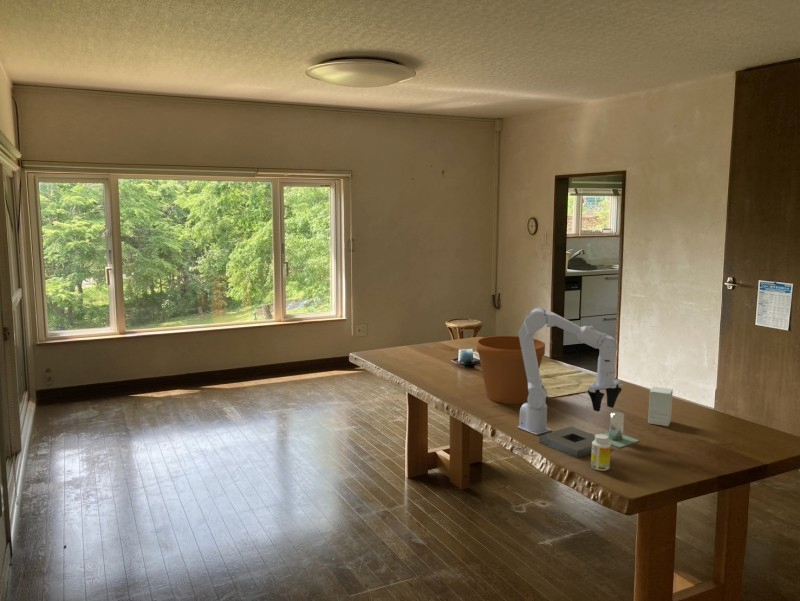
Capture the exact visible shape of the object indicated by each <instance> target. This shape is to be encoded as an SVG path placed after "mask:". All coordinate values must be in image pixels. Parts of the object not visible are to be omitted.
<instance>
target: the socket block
mask: <svg viewBox="0 0 800 601" xmlns="http://www.w3.org/2000/svg"><path fill="white" fill-rule="evenodd" d="M595 435H596V434H593V433H590V432H587V431H585V430H583V429H582V430H581V429H579V428H576V427H574V426H568V427H567V426H566V427H565V428H561V429H557V430H553V431H549V432H546V433H542V434H539V437H538V438H539V440H538V441H539V442H538V443H540V444H542V445H545V446H546V447H549V448H552V449H553V450H554V449H555V450H557V451H559V452H561V453H564V454H566V455H569V456H570V457H574V458H576V459H579V458H581V457H584V456H588V455H590V454H591V453H592V442H593V441H594V440H595ZM608 442H609V441H608Z"/></svg>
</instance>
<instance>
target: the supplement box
mask: <svg viewBox="0 0 800 601" xmlns="http://www.w3.org/2000/svg"><path fill="white" fill-rule="evenodd" d="M673 391H674V390H673V388H667V387H659V386H652V387H651V389H650V390H649V397H648V399H649V401H648V417H647V423H648V424H651V425H655V426H656V425H657V426H663V427H669V426H670V424H671V421H672V409H673V408H672V406H673V393H674V392H673Z"/></svg>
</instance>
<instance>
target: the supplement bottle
mask: <svg viewBox="0 0 800 601" xmlns="http://www.w3.org/2000/svg"><path fill="white" fill-rule="evenodd" d="M594 435H595V440H594V441H593V442H592V453H590V454H591V455H590V456H591V457H590V466H591V468H592V469H593V470H596V471H599V472H600V471H601V472H602V471H603V472H605V471H607V470H610V467H611V466H610V465H611V453H612V452H611V449H612V448H611V447H612V445H611V444H610V442H608V441H609V440H608V439H609V437H608V436H607V435H604V433H597V434H594Z"/></svg>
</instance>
